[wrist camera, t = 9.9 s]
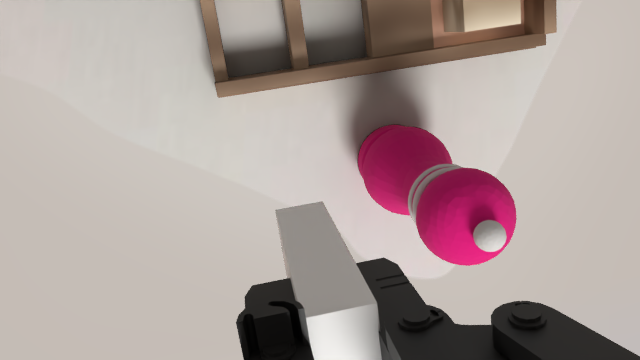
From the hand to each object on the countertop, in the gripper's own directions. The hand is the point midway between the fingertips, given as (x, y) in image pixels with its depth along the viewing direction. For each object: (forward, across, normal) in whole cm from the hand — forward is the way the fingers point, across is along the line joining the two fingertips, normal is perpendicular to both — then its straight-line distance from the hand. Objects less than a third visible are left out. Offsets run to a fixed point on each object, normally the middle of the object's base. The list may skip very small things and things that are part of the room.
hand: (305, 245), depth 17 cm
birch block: (+27, +18, +7) cm, 34 cm away
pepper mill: (+30, +11, -6) cm, 32 cm away
